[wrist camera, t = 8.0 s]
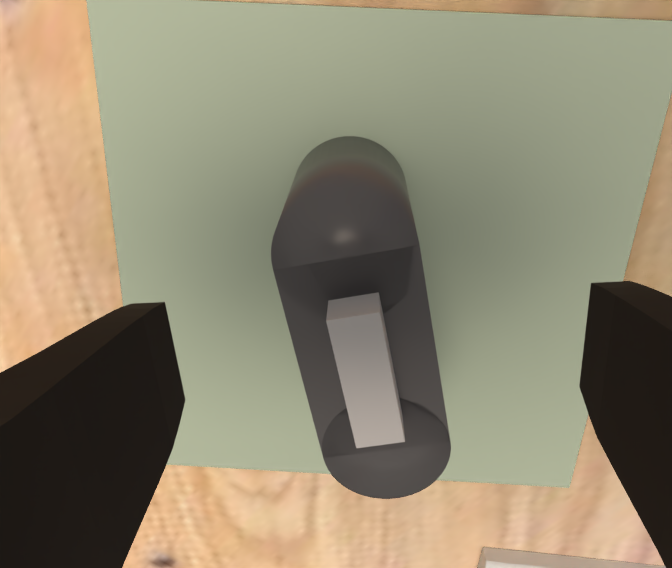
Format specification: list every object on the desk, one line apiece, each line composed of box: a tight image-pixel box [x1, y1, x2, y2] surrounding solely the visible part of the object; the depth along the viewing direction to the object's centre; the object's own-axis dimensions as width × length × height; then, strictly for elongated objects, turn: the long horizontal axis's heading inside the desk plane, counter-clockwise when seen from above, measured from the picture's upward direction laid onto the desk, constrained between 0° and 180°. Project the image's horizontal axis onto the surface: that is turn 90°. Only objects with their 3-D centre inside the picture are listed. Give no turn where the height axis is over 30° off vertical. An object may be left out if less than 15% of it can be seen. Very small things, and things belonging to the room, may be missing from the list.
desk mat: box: [86, 0, 672, 488], centre depth 20 cm, size 16×16×1 cm
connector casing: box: [271, 136, 451, 499], centre depth 17 cm, size 3×9×6 cm, turn 11°
